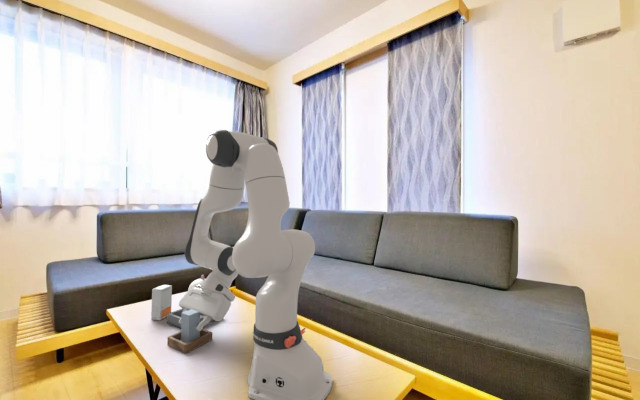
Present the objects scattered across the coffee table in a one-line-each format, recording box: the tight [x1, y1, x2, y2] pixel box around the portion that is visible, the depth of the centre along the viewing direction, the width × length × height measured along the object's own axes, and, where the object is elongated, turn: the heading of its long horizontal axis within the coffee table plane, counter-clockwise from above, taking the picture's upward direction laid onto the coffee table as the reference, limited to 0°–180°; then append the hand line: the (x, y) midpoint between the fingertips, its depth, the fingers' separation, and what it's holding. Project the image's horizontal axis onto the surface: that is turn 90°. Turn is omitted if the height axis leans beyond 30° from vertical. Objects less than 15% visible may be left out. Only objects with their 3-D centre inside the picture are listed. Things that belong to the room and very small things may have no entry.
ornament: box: [187, 274, 206, 292], centre depth 125 cm, size 10×10×12 cm
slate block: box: [180, 309, 200, 343], centre depth 89 cm, size 4×4×10 cm
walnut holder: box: [167, 328, 213, 354], centre depth 89 cm, size 10×10×2 cm
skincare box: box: [150, 284, 173, 321], centre depth 107 cm, size 6×4×12 cm
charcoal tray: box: [166, 308, 217, 330], centre depth 105 cm, size 14×14×4 cm
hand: (188, 326), depth 88 cm, fingers open, 7 cm apart
